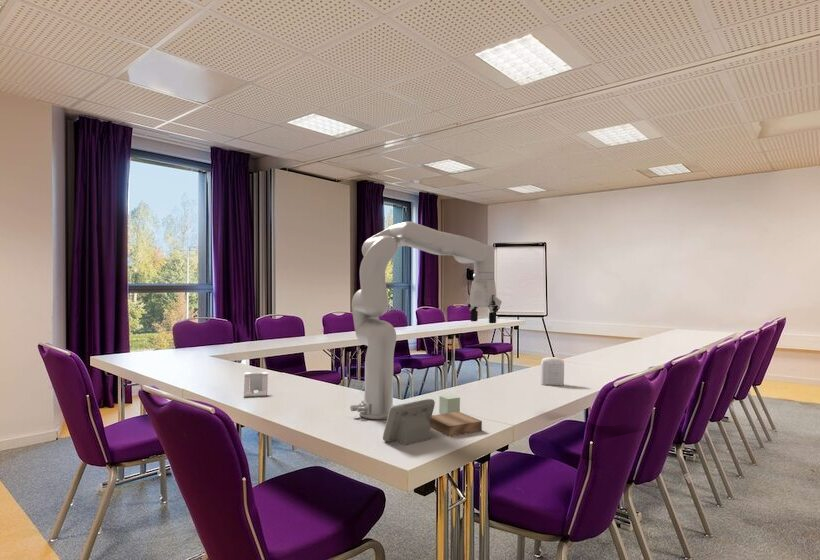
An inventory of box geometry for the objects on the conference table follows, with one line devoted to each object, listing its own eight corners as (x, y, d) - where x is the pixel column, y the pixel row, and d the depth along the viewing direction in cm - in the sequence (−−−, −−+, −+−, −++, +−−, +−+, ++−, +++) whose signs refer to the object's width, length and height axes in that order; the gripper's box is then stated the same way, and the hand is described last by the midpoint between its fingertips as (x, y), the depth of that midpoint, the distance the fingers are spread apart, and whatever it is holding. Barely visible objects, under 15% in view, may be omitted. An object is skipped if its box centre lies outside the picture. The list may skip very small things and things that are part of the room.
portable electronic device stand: (243, 397, 181) (244, 375, 181) (244, 393, 188) (245, 371, 188) (267, 396, 183) (267, 374, 183) (267, 392, 191) (267, 371, 191)
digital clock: (426, 430, 143) (427, 395, 143) (442, 439, 135) (442, 402, 135) (377, 438, 136) (377, 400, 136) (390, 448, 128) (391, 408, 128)
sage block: (447, 417, 159) (447, 399, 159) (439, 413, 163) (439, 395, 163) (459, 415, 161) (460, 397, 161) (451, 411, 166) (451, 394, 166)
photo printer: (562, 384, 216) (562, 356, 217) (565, 386, 212) (565, 358, 212) (539, 383, 217) (539, 356, 217) (541, 385, 213) (542, 357, 213)
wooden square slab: (448, 436, 138) (449, 426, 138) (426, 425, 148) (427, 416, 148) (481, 431, 144) (481, 421, 144) (458, 420, 154) (458, 411, 154)
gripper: (460, 277, 186) (460, 320, 186) (493, 276, 172) (493, 324, 172) (474, 277, 191) (474, 320, 190) (507, 277, 177) (507, 323, 177)
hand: (483, 322), depth 181 cm, fingers open, 9 cm apart
